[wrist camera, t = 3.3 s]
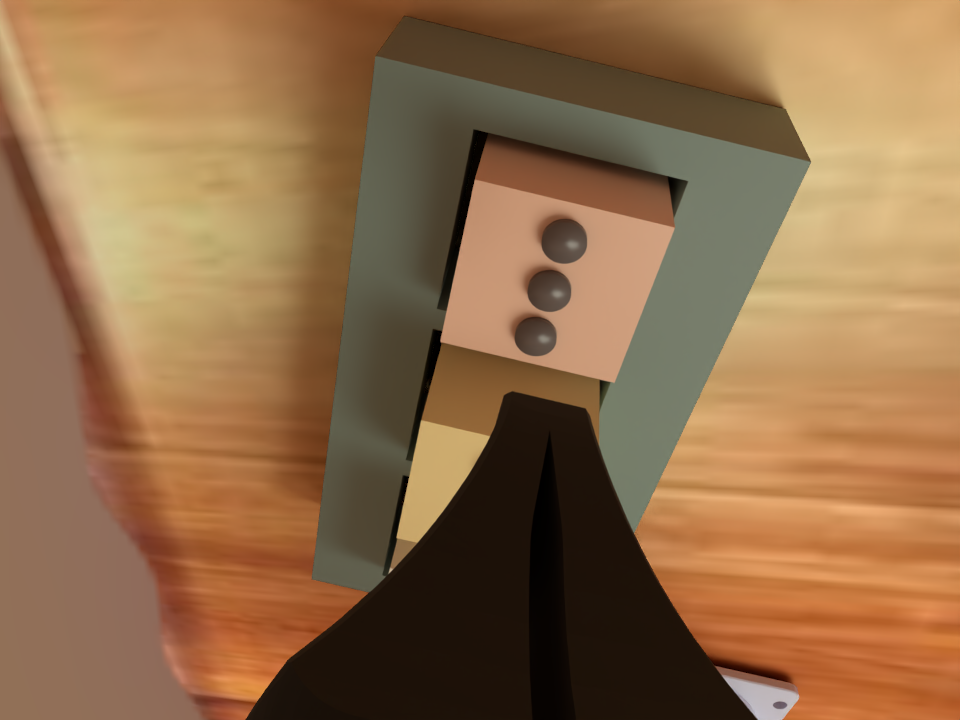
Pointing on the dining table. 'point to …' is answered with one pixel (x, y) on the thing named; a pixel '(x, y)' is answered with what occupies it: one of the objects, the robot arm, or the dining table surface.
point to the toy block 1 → (557, 257)
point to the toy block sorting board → (433, 257)
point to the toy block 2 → (473, 423)
